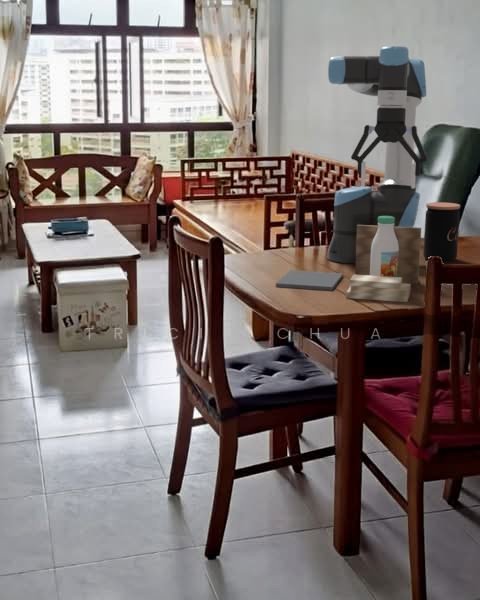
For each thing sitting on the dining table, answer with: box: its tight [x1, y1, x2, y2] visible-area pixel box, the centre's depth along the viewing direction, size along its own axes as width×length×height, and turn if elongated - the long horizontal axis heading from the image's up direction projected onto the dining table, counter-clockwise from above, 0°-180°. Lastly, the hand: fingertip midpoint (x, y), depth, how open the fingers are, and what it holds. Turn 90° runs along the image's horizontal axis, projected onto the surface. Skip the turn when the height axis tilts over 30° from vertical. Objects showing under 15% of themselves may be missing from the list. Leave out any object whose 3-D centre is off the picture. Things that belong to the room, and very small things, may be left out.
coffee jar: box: [422, 201, 461, 263], centre depth 272 cm, size 11×11×18 cm
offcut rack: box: [345, 225, 422, 303], centre depth 233 cm, size 18×26×16 cm
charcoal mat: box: [275, 269, 344, 292], centre depth 243 cm, size 16×18×1 cm
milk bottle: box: [370, 216, 399, 277], centre depth 234 cm, size 8×8×20 cm
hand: (387, 187), depth 229 cm, fingers open, 13 cm apart
